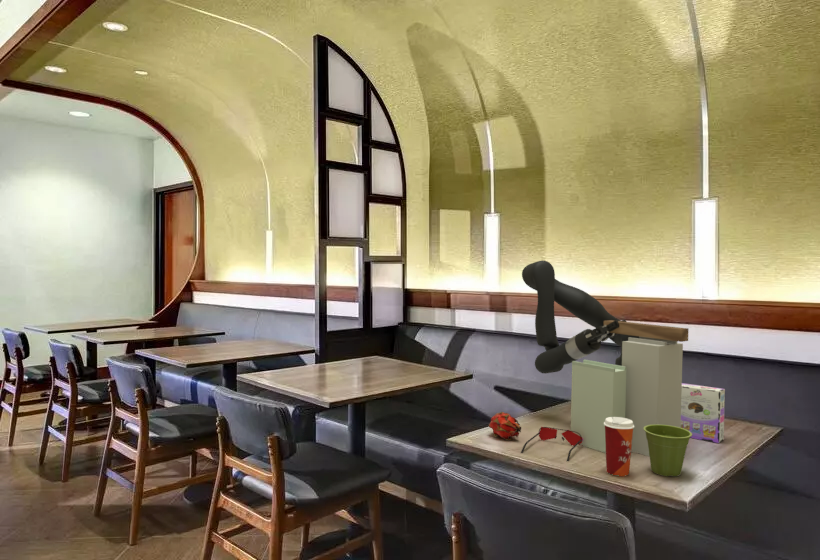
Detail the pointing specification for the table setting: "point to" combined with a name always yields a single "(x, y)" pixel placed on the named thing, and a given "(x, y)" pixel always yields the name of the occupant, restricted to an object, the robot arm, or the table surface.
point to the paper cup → (618, 445)
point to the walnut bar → (651, 331)
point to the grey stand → (652, 385)
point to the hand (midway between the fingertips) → (621, 322)
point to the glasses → (552, 433)
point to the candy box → (703, 412)
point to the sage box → (596, 399)
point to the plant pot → (667, 448)
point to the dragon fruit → (504, 425)
